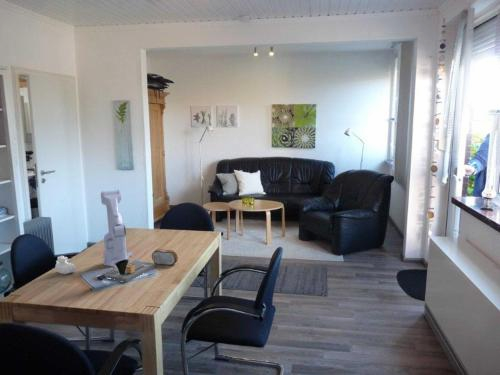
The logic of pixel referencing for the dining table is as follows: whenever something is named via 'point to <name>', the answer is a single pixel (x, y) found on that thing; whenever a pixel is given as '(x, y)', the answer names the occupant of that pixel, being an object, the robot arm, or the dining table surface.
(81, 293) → the dining table surface
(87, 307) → the dining table surface
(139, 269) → the fader board
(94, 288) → the dining table surface
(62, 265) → the white irregular lump
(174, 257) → the tin
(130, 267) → the block
